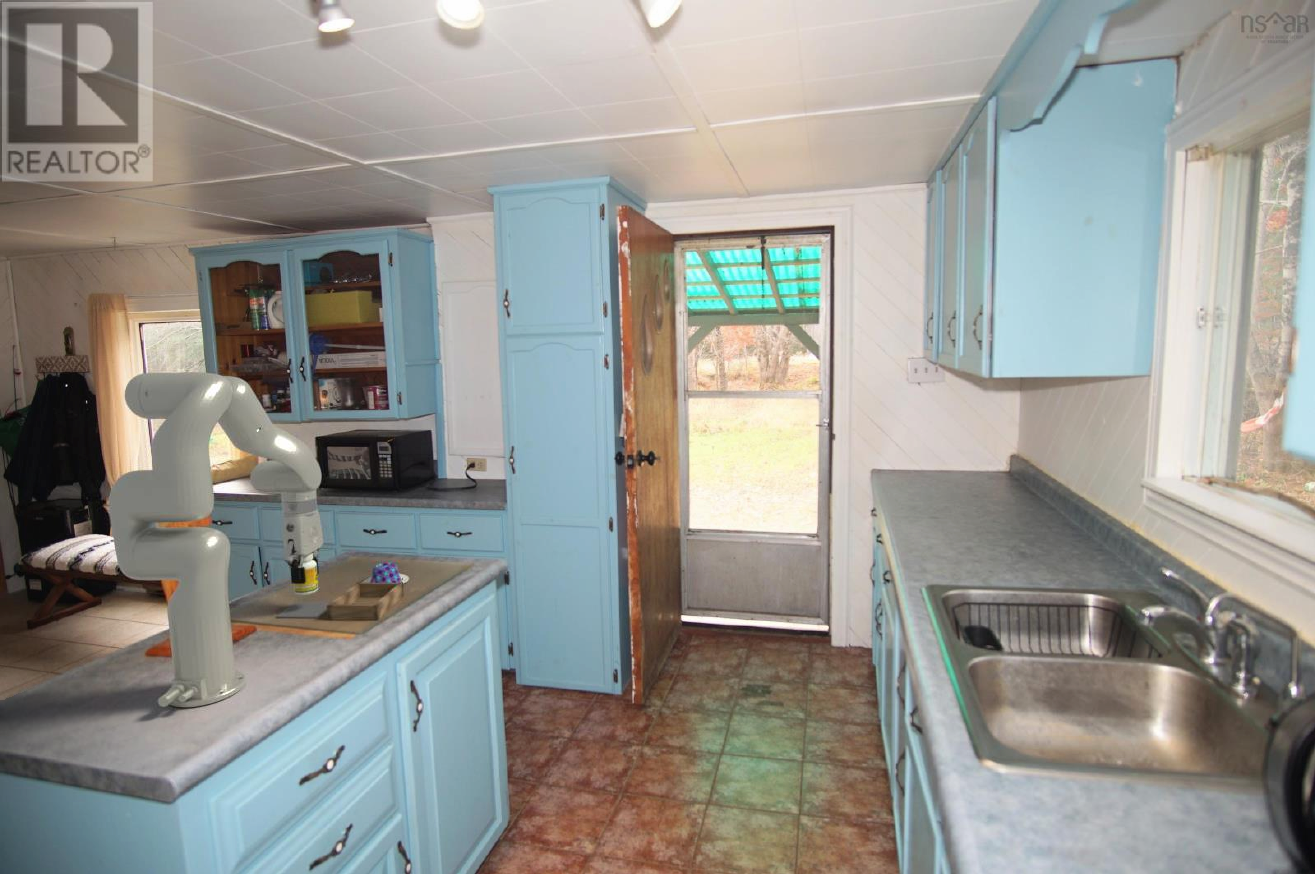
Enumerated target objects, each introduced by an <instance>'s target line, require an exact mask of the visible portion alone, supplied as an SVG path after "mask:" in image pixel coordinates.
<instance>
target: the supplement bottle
mask: <svg viewBox="0 0 1315 874" xmlns="http://www.w3.org/2000/svg"><path fill="white" fill-rule="evenodd" d="M294 555H298V553H294ZM294 559H296V560H297V561H299V557H294ZM312 559H313V553H310V554H308V555H306V556H304V558H303V567H305V578H306V582H305V583H304V584H293V592H294V594H295V595H297V596H308V595H312V594H315V593H317V592H318V590H319V578H318V577H319V576H318V575H317V563H316V562H315V561H314V560H312Z"/></svg>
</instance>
